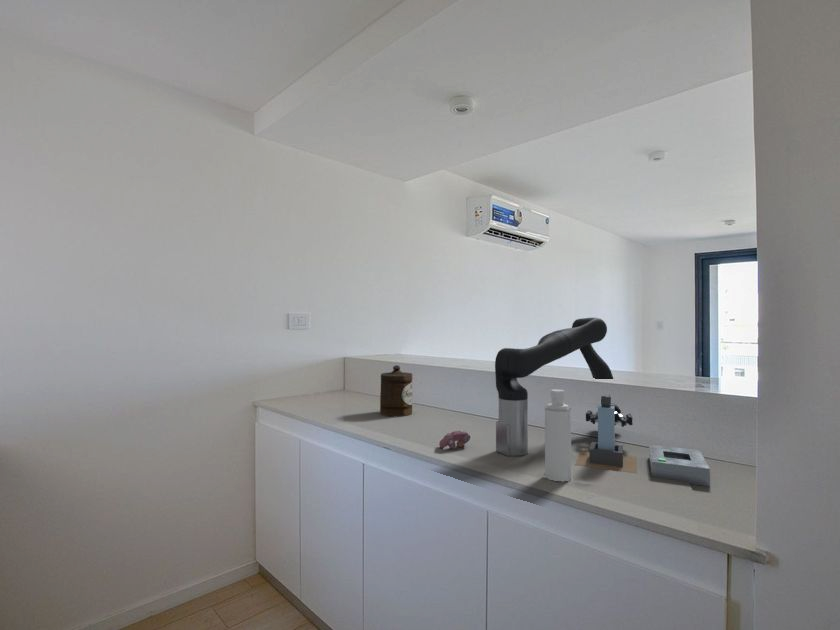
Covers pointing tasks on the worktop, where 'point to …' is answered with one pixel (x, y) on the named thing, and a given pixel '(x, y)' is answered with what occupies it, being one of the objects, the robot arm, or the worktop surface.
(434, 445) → the worktop surface
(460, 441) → the raw steak
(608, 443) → the plug
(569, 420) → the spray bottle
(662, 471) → the port block
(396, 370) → the wooden container
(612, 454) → the holster
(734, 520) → the worktop surface
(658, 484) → the worktop surface
